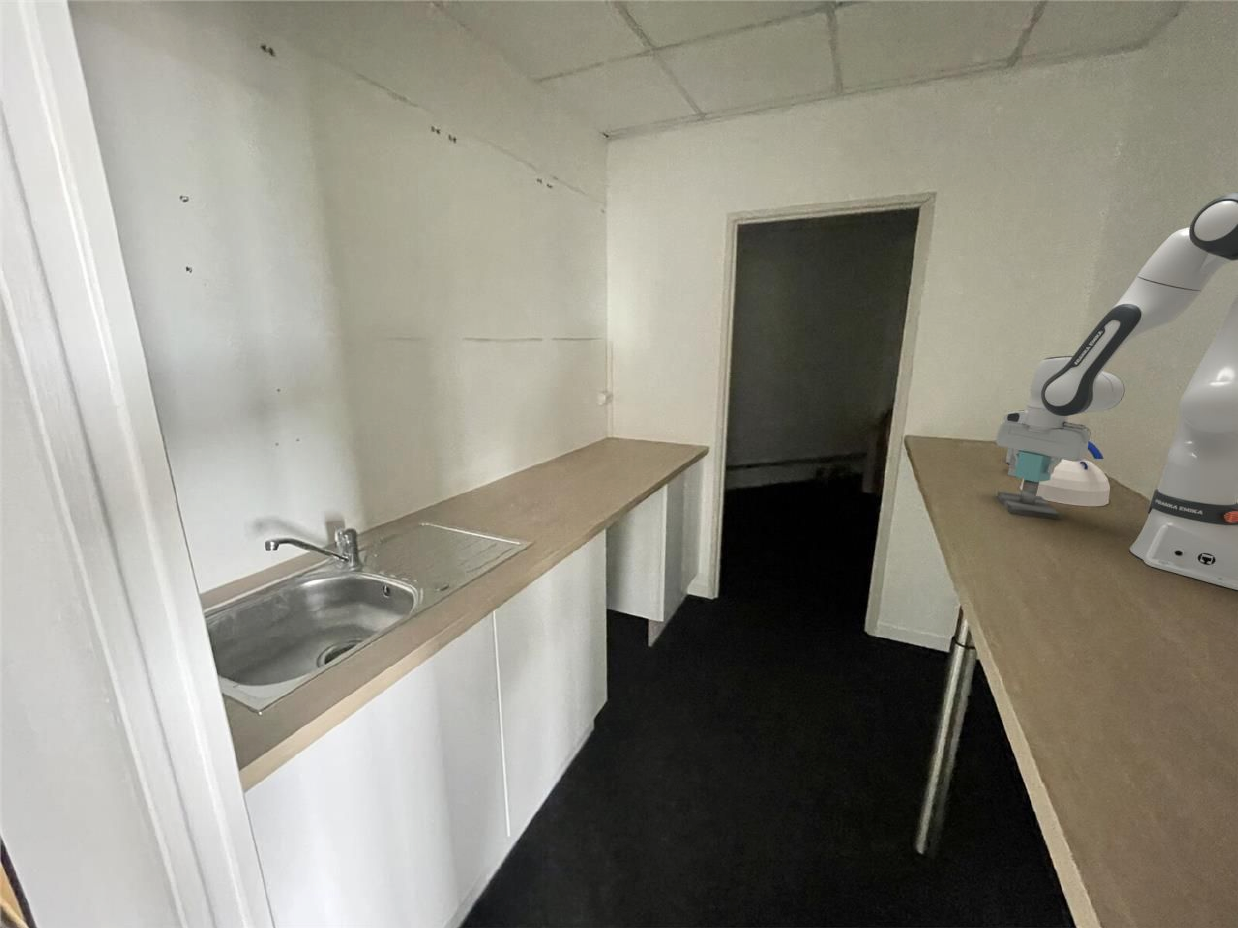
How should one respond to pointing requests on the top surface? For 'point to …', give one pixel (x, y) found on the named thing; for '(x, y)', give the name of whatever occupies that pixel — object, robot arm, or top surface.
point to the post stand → (1028, 502)
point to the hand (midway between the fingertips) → (1033, 469)
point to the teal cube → (1032, 467)
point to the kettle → (1076, 483)
